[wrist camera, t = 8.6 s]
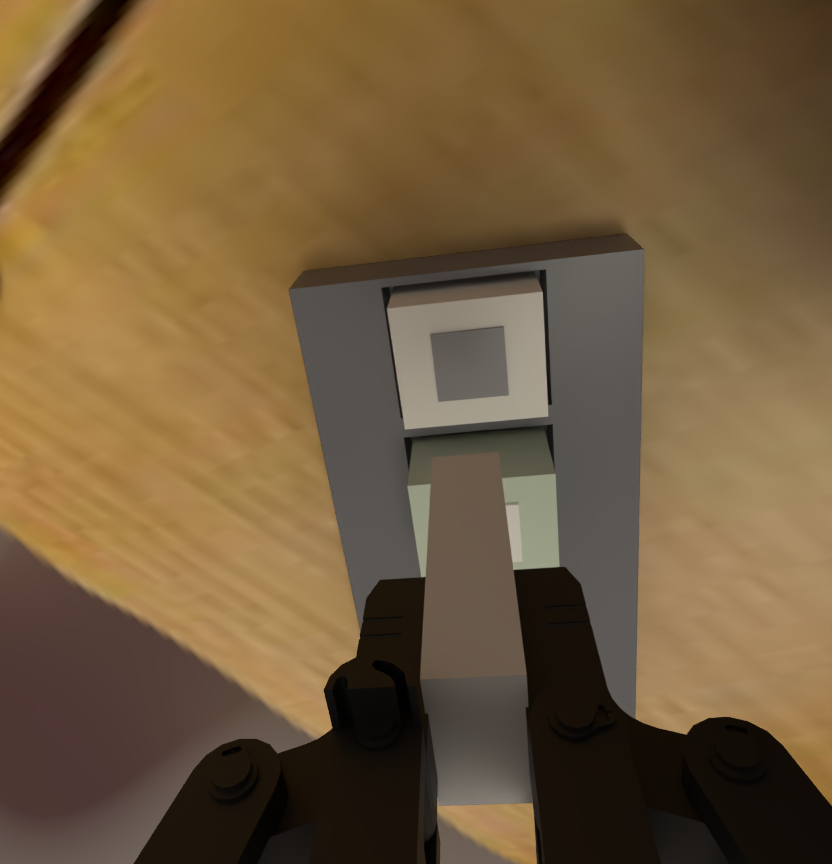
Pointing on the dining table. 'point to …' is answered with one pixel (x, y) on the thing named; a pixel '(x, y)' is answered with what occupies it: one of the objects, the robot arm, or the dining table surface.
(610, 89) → the dining table surface
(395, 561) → the keypad
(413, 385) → the key
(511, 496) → the key
